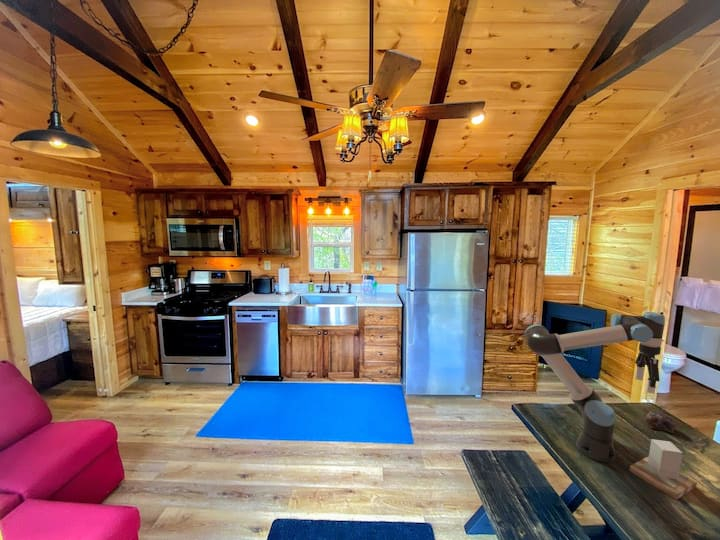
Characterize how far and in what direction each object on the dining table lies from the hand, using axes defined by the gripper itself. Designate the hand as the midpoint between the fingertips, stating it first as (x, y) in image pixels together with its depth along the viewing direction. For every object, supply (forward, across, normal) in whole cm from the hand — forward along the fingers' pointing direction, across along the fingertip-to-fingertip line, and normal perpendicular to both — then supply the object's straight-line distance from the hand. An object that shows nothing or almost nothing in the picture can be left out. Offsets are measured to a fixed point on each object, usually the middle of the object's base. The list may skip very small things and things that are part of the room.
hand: (644, 386), depth 150 cm
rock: (+32, +22, -16) cm, 42 cm away
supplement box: (+29, -22, -2) cm, 36 cm away
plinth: (+32, -22, -2) cm, 39 cm away
